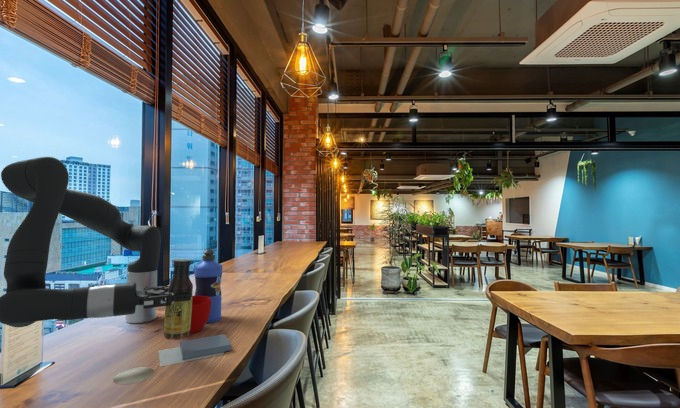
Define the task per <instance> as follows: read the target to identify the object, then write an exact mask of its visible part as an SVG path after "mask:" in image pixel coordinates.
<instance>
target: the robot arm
mask: <svg viewBox="0 0 680 408" xmlns="http://www.w3.org/2000/svg"><path fill="white" fill-rule="evenodd" d="M69 177H70V176H69V171H68V169H67V167H66V165H65V164H64V163H63V161H61V160H60V159H58V158H57V157H53V156H40V157H35V158H34V157H33V158H30V159H24V160H20V161H16V162H15V161H14V162H13V163H9V164H8V165H6V166H5V167H3V168H2V171H1V172H0V178H1V182H2V183H3V185H4V186H5V187H6V189H7V190H8V191H9V192H11V193H12V194H13V195H15V196H16V197H19V198H21V199H23V200H26V201H28V202H31V203H33V204H32V206H31V207H30V209H29V211H28V213H27V214H26V216H25V217H24V219H23V220H22V222H21V223H20V225H19V226H18V227H17V229H16V230H15V232H14V233H13V235H12V237H11V238H10V240H9V243H8V245H7V249H6V250H7V251H6V255H5V262H4V268H3V276H4V277H3V278H4V279H5V281H6V291H5V293H3V295H1V296H0V324H4V325H5V326H9V327H13V328H25V327H28V326H29V327H30V326H31V325H33V324H34V323H36V322H41V321H42V322H43V321H49V320H50V321H51V320H57V321H74V320H82V319H101V318H109V317H110V318H111V317H120V316H125V322H126V323H127V324H128V323H129V324H142V323H143V324H144V323H148V322H150V321H151V322H152V321H153V320H155V319H157V308H160V307H166V306H170V305H172V303H174V302H180V301H189V300H190V299H191V292H190V291H186V292H175V294H174V293H173V292H171V293H167V291H168V288H169V286H170V285H159V286H158V266H159V263H160V259H161V258H160V256H161V255H160V253H161V243H162V236H161V232H160V229H159V228H158V227H157V226H154V225H135V224H134V225H133V224H130V223H129V222H126V221H125V220H122V215H121V212H120V210H119V209H118V207H117V206H115V205H114V204H112V203H111V202H110V201H107V200H106V199H104V198H103V197H101V196H99V195H95V194H93V193H89V192H84V191H79V190H75V189H71V188H68V186H69V181H70V180H69V179H70V178H69ZM59 214H61V215H62V216H64V217H67V218H69V219H71V220H72V221H75V222H77V223H79V224H80V225H81V226H83V227H86V228H88V229H89V230H92V231H94V232H96V233H99V234H101V236H104V237H107V238H109V239H111V240H112V241H114V242H116V243H117V244H118V245H120V246H121V247H122V248H124V249H125V250H128V251H130V252H139V253H140V257H139V258H137V260H134V261H131V262H129V263H128V264H127V269H126V270H127V276H126V277H127V278H126V282H123V283H111V284H110V283H109V284H100V285H95V286H86V287H85V286H83V287H82V286H81V287H71V288H63V289H57V288H46V285H47V284H46V283H47V282H46V273H47V269H48V262H49V261H48V260H49V254H50V246H51V240H52V236H53V232H54V229H55V228H54V227H55V225H56V223H57V219H58V217H59Z"/></svg>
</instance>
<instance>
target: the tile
mask: <svg viewBox="0 0 680 408" xmlns="http://www.w3.org/2000/svg"><path fill="white" fill-rule="evenodd" d="M178 344H179V345H178V347H179V348H180V352H181V356H182V360H184V359H190V358H195V357H200V356H205V355H210V354H215V353H220V352H223V353H224V352H229V351H232V343H231V342H230V340H229V339H228V338H227V336H226V334H225V333H224V334H218V335H211V336H206V337H200V338H193V339H187V340H181V341H179V343H178Z"/></svg>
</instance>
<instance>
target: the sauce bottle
mask: <svg viewBox="0 0 680 408" xmlns="http://www.w3.org/2000/svg"><path fill="white" fill-rule="evenodd" d="M191 262H192V261H191V259H186V258H181V259H180V258H179V259H177V258H176V259H174V260H173V275H172V278H171V281H170V284H169V285H168V286H169V288H168V291H167V293H171V292H173V293H174V294H175V292H186V291H190V292H191V299H190V300H189V301H180V302H174V303H172V305H170V306H165V310H164V325H163V337H164V338H165V339H166V340H168V341H169V340H171V341H176V340H179V341H180V340H181V339H185V338H187V337H189V335H190V334H189V333H190V331H189V330H190V327H191V313H192V298H193V296H194V295H193V291H194V289H193V288H194V284H193V282H192V281H191V279H190V266H191Z"/></svg>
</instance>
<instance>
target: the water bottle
mask: <svg viewBox="0 0 680 408" xmlns="http://www.w3.org/2000/svg"><path fill="white" fill-rule="evenodd" d="M214 253H215V251H214V250H213V249H212V248H206V249H205V250H204V251H203V255H202V262H201V263H199V264H196V265H194V280H195V281H194V282H195V292H194V296H207V297H210V298H211V309H210V315H209V318H208V320H207V322H206V324H213V323H216V322H219V321H220V320H221V319H222V289H221V282H222V276H223V264H220V263H219V262H216V261H215V260H216V255H215V254H214Z"/></svg>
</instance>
